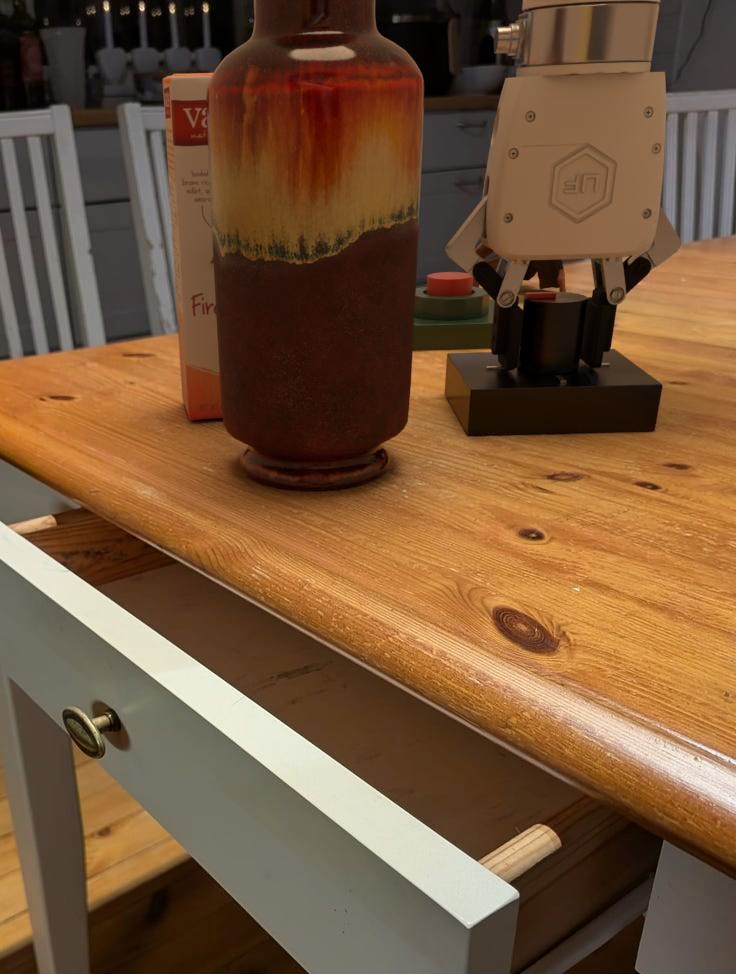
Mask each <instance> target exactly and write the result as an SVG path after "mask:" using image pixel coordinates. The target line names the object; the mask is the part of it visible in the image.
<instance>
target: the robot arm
mask: <svg viewBox="0 0 736 974" xmlns="http://www.w3.org/2000/svg"><path fill="white" fill-rule="evenodd" d="M659 4H661V0H522V6H521V12H523V13H519V14H518V15H517V16H518V17H517V20H515V22H514V23H509V25H508V26H497V27H496V28H495V31H494V37H493V53H494V54H495V55H497V54H498V55H499V54H505V55H506V56H507V57H511V60H514V62H513V63H514V64H513V65H514V67H516V72H515V76H513V77H505V79H504V82H503V86H502V89H501V93H500V97H499V101H498V105H497V109H496V113H495V118H494V121H493V128H492V132H491V133H492V134H491V139H490V145H489V151H488V156H487V164H486V168H485V169H486V171H485V176H484V184H483V190H482V198H481V199H480V201H479V203H478V204H477V205H476V206H475V208H474V209H473V210H472V212H471V213H470V214H469V215H468V217H467V218H466V219H465V221H464V222H463V223H462V224H461V226H460V227H459V228H458V230H456V232H455V234H454V235H453V236H452V237H451V239H450V240H449V241H448V242H447V244H446V246H445V250H444V252H445V255H446V256H447V257H448V258H449V259H451V261H452V262H454V263H455V264H457V266H458V267H460V268H461V269H463V271H464V272H465V273H468V274H470V275H471V276H472V277H473V278H474V279H475V280H476V281H477V282H478V283H479V287H480V288H483V289H484V290H485V291H486V292H487V293H488V295H489V296H490V298H491V299H492V301H495V303H494V314H493V326H492V337H491V349H490V352H492V354H493V355H498V362H499V363H500V364H501V365H502V367H503V368H504V369H505V370H514V369H515V368H517V366H518V357H519V348H520V338H521V328H522V318H523V307H521V306H519V302H520V301H519V300H520V297H519V293H520V290H521V288H522V284H523V281H524V280H523V279H524V276H525V273H526V271H527V268H528V265H529V262H530V260H559V259H561V260H587V259H590V264H591V272H592V278H593V285H594V286H593V287H594V288H593V290H592V293H591V296H587V298H588V302H587V309H586V317H585V324H584V332H583V339H582V347H581V354H580V359H581V360H582V361H583V362H585V363H586V364H587V365H588V366H590V367H591V368H600V367H601V365H602V359H603V352H609V350H610V349H612V343H613V335H614V330H615V323H616V316H617V308H618V305H620V304H622V303H623V302H624V301H625V300H626V297H627V295H628V293H630V292H631V291H632V290H633V289H634V288H635V287H636V286H638V284H640V282H641V281H643V280H644V279H645V278H646V277H647V276H648V275H649V274H650V272H651V271H652V270H653V269H655V268H657V267H658V266H660V265H661V264H662V263H664V262H666V260H668V259H669V258H670V257H672V256H673V255H675V254H676V253H678V251H679V250H680V248H681V247H682V240H681V238H680V236H679V235H678V233H677V231H676V230H675V228H674V226H673V225H672V223H671V221H670V219H669V218H668V216H667V214H666V213H665V211H664V209H663V207H662V205H661V201H662V189H663V179H664V166H665V153H666V152H665V151H666V149H665V148H666V134H667V133H666V128H667V126H666V125H667V84H666V83H667V81H666V71H651V65H652V62H651V61H653V60H652V59H653V52H654V46H655V39H656V32H657V26H658V18H659V11H660V5H659ZM480 240H481V243H483V244H484V245H485V246H487V247H488V248H490V249H492V250H493V251H494V252H493V253H494V254H495V255H499V256H501V258H500V261H499V264H498V266H497V269H496V271H495V270H494V269H493V268H492V266H491V265H489V264H488V263H487V262H486V261H485V260H484V259H483V258H481V257H480V256H479V255H478V254H477V253H476V251H475V249H476V245H478V242H479V241H480ZM626 257H627V258H626ZM623 258H626V259H625V260H623Z"/></svg>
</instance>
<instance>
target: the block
mask: <svg viewBox="0 0 736 974" xmlns="http://www.w3.org/2000/svg"><path fill="white" fill-rule="evenodd" d="M426 289H427V286H419V287H416V295H415V314H414V333H413V352H417V351H418V352H419V351H450V350H456V351H457V350H484V349H485V350H491V337H492V326H493V314H494V303H495V301H494V300H490V298H491V297H490V296H489V295H488V293H487V292H486V291H485V290H484V289H483V288H482V287H480V286H479V287H474V286H472V294H471V295H464V296H432V295H427V294H426Z"/></svg>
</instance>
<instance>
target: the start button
mask: <svg viewBox="0 0 736 974" xmlns="http://www.w3.org/2000/svg"><path fill="white" fill-rule="evenodd" d="M426 276H427V277H426V287H427V289H426V294H427V295H432V296H464V295H471V294H472V286H473V277H472V276H471V275H470V274H468V273H467V272H460V271H441V272H434V273H429V274H427V275H426Z"/></svg>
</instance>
